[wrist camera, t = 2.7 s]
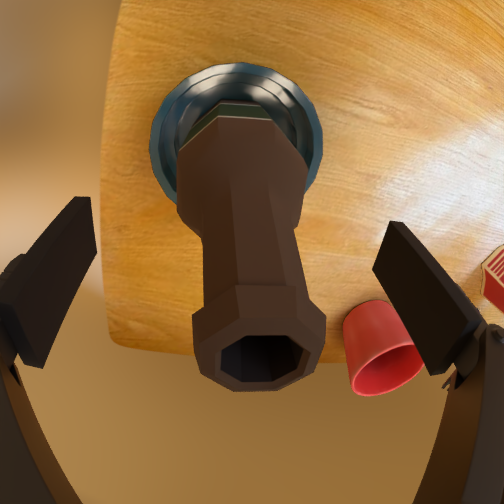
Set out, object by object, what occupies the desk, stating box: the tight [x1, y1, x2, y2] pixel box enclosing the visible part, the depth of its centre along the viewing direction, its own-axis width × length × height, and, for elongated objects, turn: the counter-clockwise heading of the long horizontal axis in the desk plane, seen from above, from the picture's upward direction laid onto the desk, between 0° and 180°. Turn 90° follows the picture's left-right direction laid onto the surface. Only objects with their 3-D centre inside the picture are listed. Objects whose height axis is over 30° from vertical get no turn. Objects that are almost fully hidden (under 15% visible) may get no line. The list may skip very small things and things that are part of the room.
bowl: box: [149, 62, 323, 205], centre depth 26 cm, size 14×14×5 cm
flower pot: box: [342, 300, 425, 396], centre depth 39 cm, size 11×11×10 cm
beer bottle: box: [176, 99, 326, 392], centre depth 18 cm, size 8×8×24 cm
